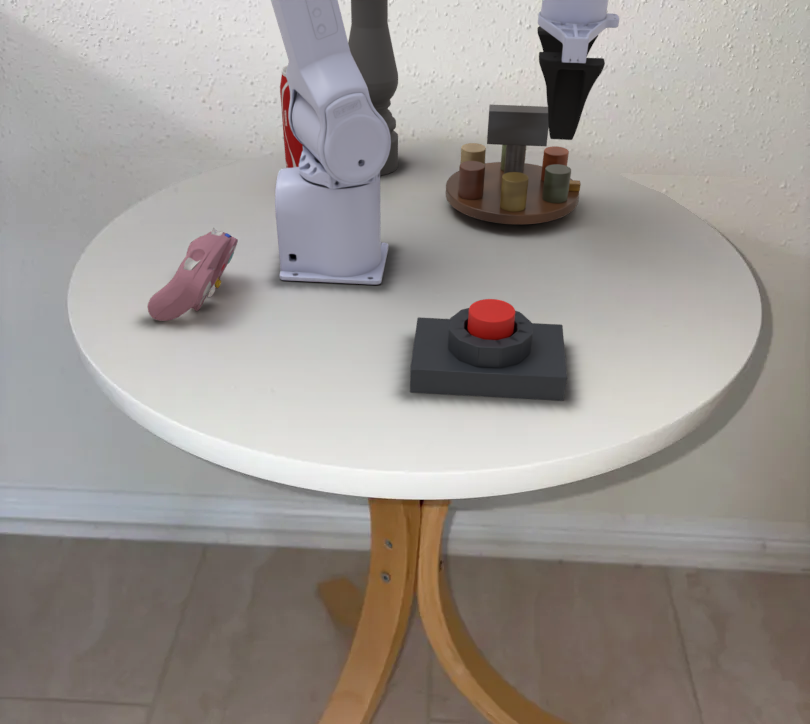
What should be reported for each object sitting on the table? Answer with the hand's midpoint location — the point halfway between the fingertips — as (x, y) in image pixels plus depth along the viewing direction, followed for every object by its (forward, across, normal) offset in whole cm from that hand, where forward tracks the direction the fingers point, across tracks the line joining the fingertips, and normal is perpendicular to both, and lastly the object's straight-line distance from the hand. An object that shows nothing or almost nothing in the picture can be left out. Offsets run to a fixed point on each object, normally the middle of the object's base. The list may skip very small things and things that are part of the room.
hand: (559, 123), depth 86 cm
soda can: (+10, +8, +26) cm, 29 cm away
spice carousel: (+9, +5, +4) cm, 11 cm away
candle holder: (+10, +14, +20) cm, 27 cm away
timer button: (+7, -27, +5) cm, 29 cm away
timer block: (+10, -27, +5) cm, 30 cm away
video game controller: (+10, -19, +32) cm, 38 cm away
